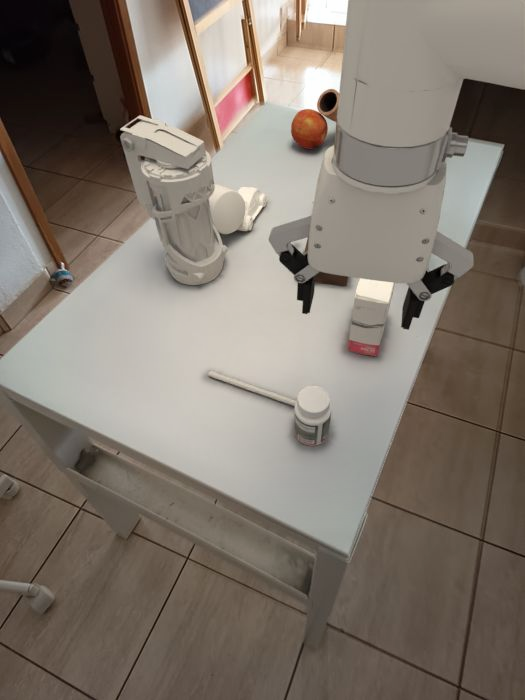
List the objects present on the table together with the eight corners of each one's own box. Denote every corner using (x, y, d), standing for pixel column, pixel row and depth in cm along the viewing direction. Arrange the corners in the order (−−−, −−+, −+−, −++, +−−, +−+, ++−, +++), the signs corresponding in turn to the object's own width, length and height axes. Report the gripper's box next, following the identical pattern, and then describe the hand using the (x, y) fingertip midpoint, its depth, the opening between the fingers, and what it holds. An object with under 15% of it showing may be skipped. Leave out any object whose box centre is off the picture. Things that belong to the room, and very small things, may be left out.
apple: (309, 133, 115) (310, 99, 108) (334, 146, 110) (337, 112, 104) (284, 145, 112) (284, 111, 105) (309, 159, 108) (310, 124, 101)
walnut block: (351, 256, 87) (353, 238, 84) (346, 286, 82) (349, 268, 79) (307, 251, 88) (308, 234, 85) (301, 281, 83) (301, 263, 80)
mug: (253, 204, 88) (218, 192, 95) (227, 181, 82) (191, 170, 88) (221, 262, 89) (189, 245, 95) (193, 243, 83) (160, 227, 89)
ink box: (377, 358, 72) (390, 304, 63) (345, 350, 73) (353, 296, 64) (386, 317, 77) (400, 262, 68) (357, 311, 78) (366, 255, 69)
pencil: (301, 409, 66) (207, 375, 71) (302, 409, 67) (209, 376, 71) (303, 403, 66) (209, 370, 71) (304, 403, 67) (211, 370, 71)
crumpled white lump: (240, 196, 100) (238, 176, 96) (268, 200, 98) (268, 180, 95) (220, 231, 93) (217, 210, 89) (250, 236, 91) (249, 215, 88)
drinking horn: (308, 103, 109) (328, 80, 100) (414, 121, 119) (441, 102, 109) (308, 127, 109) (328, 106, 100) (414, 143, 119) (442, 125, 109)
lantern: (236, 258, 87) (221, 123, 68) (204, 294, 82) (178, 158, 62) (179, 238, 92) (149, 106, 72) (145, 271, 86) (104, 137, 67)
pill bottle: (319, 411, 67) (323, 377, 60) (334, 439, 64) (340, 406, 57) (288, 422, 66) (288, 389, 59) (302, 451, 63) (304, 420, 56)
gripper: (511, 131, 34) (445, 297, 48) (279, 111, 37) (278, 273, 51) (522, 189, 30) (446, 354, 43) (256, 161, 33) (262, 325, 46)
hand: (355, 311), depth 47 cm, fingers open, 9 cm apart
